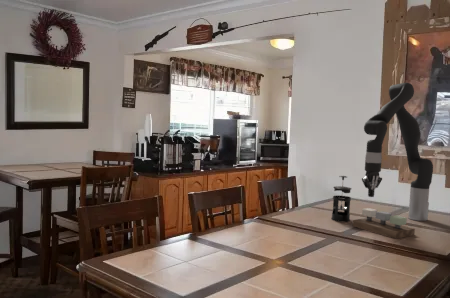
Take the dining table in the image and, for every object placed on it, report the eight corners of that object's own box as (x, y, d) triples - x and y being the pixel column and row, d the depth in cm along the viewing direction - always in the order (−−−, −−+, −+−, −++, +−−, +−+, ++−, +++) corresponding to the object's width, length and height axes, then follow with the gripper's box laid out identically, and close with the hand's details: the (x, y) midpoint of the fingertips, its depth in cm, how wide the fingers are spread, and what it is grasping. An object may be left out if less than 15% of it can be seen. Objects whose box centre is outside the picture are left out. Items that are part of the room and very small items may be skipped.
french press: (342, 223, 212) (345, 177, 210) (326, 219, 219) (329, 175, 217) (355, 220, 220) (357, 176, 218) (339, 216, 227) (342, 174, 225)
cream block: (368, 219, 210) (369, 208, 210) (376, 221, 206) (377, 210, 206) (361, 220, 208) (362, 208, 207) (369, 222, 203) (370, 210, 203)
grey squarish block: (381, 222, 203) (382, 211, 203) (390, 225, 199) (391, 213, 199) (375, 223, 201) (375, 212, 200) (384, 226, 197) (384, 214, 196)
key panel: (371, 223, 214) (371, 217, 214) (414, 235, 194) (414, 228, 194) (352, 225, 207) (353, 219, 206) (395, 238, 186) (395, 232, 186)
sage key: (396, 227, 197) (397, 215, 196) (405, 230, 193) (406, 217, 192) (389, 228, 194) (390, 216, 194) (399, 231, 190) (399, 218, 189)
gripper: (375, 160, 211) (373, 194, 213) (357, 161, 204) (355, 196, 205) (388, 162, 205) (386, 197, 206) (370, 162, 198) (368, 199, 199)
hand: (370, 196), depth 206 cm, fingers closed
